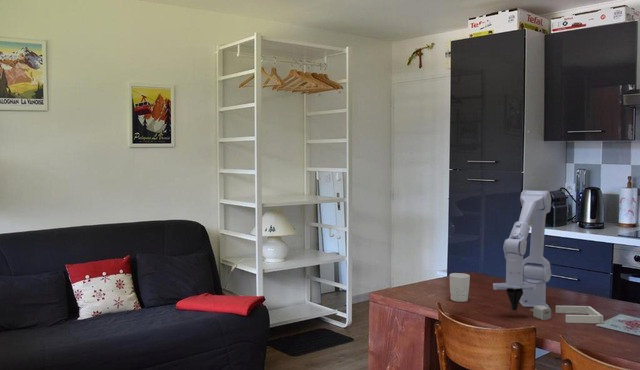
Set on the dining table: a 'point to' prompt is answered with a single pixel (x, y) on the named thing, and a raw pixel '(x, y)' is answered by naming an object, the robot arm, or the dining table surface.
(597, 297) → the dining table surface
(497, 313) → the dining table surface
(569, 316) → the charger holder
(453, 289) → the white cup
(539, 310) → the usb wall charger
